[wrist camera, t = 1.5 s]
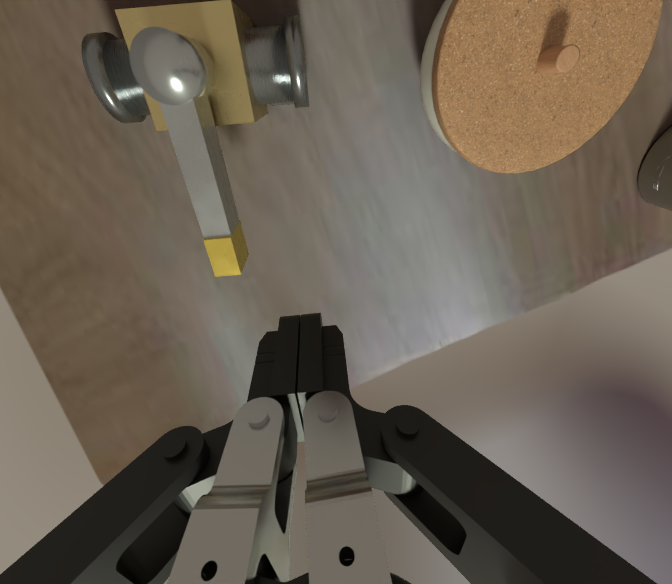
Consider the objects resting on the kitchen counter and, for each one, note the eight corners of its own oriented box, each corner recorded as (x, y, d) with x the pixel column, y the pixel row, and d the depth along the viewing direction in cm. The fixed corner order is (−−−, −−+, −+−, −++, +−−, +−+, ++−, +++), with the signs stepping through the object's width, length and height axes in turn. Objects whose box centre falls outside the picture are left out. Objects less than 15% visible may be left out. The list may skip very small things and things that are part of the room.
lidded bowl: (520, -97, 21) (682, -237, 12) (578, 77, 27) (717, 75, 17) (370, 56, 25) (403, 40, 16) (448, 179, 31) (505, 220, 22)
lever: (148, 38, 18) (117, 29, 15) (205, 33, 18) (186, 23, 15) (217, 256, 25) (205, 277, 22) (257, 252, 25) (250, 273, 22)
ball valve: (300, 16, 23) (295, -8, 17) (310, 109, 27) (309, 117, 20) (116, 32, 23) (44, 14, 17) (149, 124, 27) (99, 136, 20)
